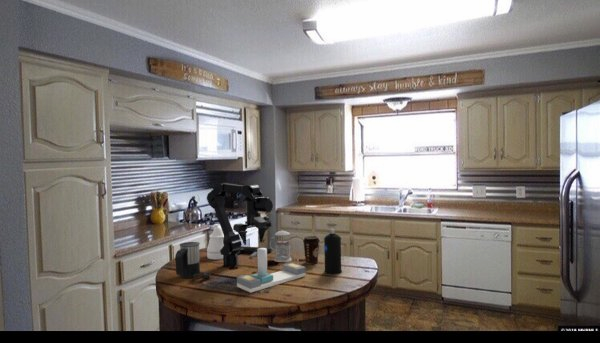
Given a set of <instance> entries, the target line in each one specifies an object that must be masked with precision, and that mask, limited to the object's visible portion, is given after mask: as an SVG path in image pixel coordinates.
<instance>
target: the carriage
mask: <svg viewBox="0 0 600 343" xmlns="http://www.w3.org/2000/svg"><path fill="white" fill-rule="evenodd" d="M267 248H268V247H265V248H258V249H257V256H256V257H257V273H254V274H251V276H252V277H255V278H257V279H260V280H261V283H265V282H268V281H272V280H273V275H271V274H272V273H268V253H267Z"/></svg>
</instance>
